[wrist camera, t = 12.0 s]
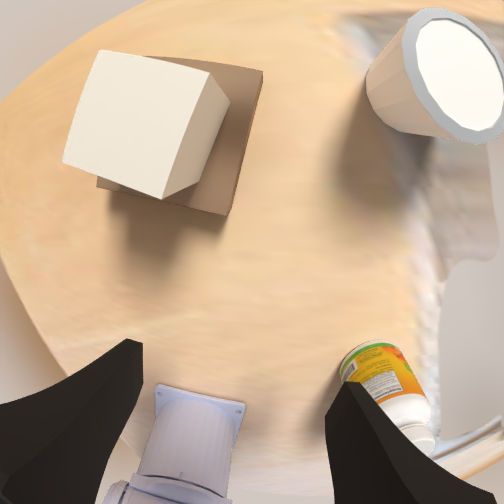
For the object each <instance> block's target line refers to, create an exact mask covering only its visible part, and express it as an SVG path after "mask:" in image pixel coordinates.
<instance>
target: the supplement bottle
mask: <svg viewBox="0 0 504 504" xmlns="http://www.w3.org/2000/svg"><path fill="white" fill-rule="evenodd" d="M340 379H341V383H342V385H343V383H344V381H350V382H360V383H361V384H362V386H363V387H364V388H365V389H366V390H367V391H368V393H369V394H370V395H371V396H372V398H373V399H374V400H375V401H376V403H377V404H378V405H379V406H380V407H381V409H382V410H383V411H384V412H385V413H386V415H387V416H388V417H389V418H390V419H391V421H392V422H393V423H394V424H395V425H396V426H397V427H398V429H399V430H400V431H401V432H402V433H403V434H404V435H405V436H406V437H407V438H408V439H409V440H410V441H411V442H412V443H413V444H414V445H415V446H416V447H417V448H418V449H419V450H420V451H422V452H423V453H424V454H425V455H426V456H427V457H428V456H429V455H430V453H431V452H432V451H433V449H434V447H435V440H434V438H433V436H432V433H431V431H430V429H429V427H428V426H427V424H428V422H429V420H430V417H431V407H430V404H429V402H428V400H427V398H426V396H425V394H424V392H423V390H422V388H421V387H420V385H419V383H418V381H417V379H416V377H415V375H414V374H413V372H412V370H411V368H410V367H409V365H408V363H407V361H406V360H405V358H404V356H403V354H402V353H401V351H400V350H399V348H398V347H397V346H396V345H395V344H394V343H392V342H390V341H386V340H373V341H369V342H366V343H364V344H362V345H360V346H358V347H356V348H355V349H354V350H352V351H351V352H350V353H349V354H348V355H347V356H346V358H345V359H344V361H343V362H342V365H341V368H340Z"/></svg>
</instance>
